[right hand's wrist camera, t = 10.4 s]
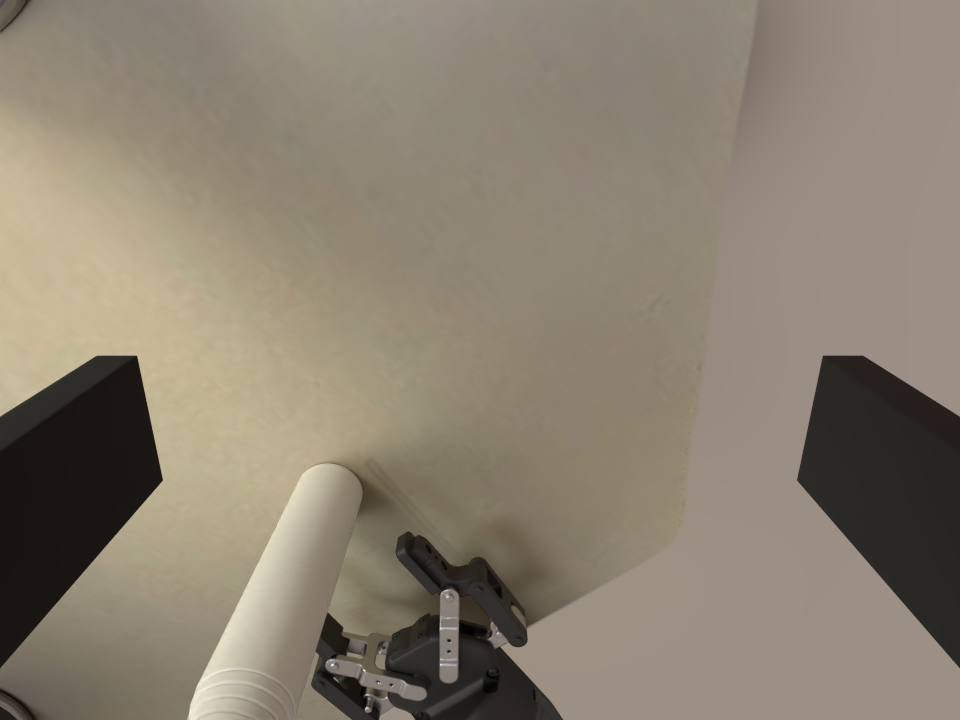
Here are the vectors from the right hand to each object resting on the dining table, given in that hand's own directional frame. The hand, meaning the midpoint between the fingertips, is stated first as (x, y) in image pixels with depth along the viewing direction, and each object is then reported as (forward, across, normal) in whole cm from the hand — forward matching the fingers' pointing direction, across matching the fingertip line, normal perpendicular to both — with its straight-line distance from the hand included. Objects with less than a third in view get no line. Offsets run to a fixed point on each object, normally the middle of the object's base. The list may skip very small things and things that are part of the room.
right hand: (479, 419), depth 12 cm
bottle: (+27, +11, +19) cm, 35 cm away
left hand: (+22, +8, +22) cm, 32 cm away
